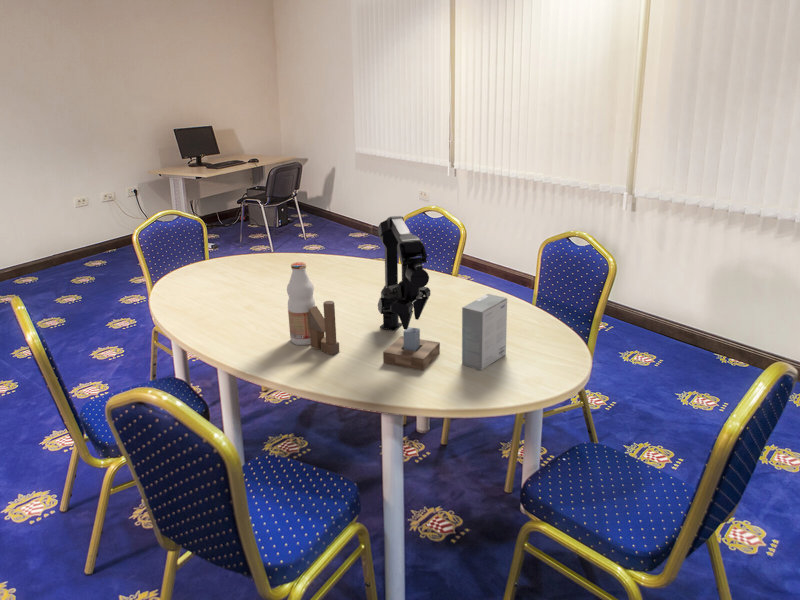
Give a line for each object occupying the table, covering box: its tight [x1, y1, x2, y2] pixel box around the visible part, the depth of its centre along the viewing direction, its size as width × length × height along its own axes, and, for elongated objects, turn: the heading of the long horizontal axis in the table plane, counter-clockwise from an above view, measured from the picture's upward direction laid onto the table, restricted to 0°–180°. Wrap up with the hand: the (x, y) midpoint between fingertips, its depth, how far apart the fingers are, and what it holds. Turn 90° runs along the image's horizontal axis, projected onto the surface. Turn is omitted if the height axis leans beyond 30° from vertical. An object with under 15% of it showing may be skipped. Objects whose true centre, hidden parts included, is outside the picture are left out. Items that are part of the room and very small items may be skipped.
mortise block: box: [382, 335, 441, 371], centre depth 206 cm, size 14×14×4 cm
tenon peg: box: [402, 326, 421, 352], centre depth 205 cm, size 4×4×9 cm
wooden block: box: [309, 300, 340, 356], centre depth 211 cm, size 4×11×18 cm, turn 48°
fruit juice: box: [286, 261, 316, 346], centre depth 217 cm, size 9×9×28 cm
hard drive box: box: [461, 293, 508, 371], centre depth 201 cm, size 16×8×20 cm, turn 141°
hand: (411, 324), depth 203 cm, fingers open, 9 cm apart
